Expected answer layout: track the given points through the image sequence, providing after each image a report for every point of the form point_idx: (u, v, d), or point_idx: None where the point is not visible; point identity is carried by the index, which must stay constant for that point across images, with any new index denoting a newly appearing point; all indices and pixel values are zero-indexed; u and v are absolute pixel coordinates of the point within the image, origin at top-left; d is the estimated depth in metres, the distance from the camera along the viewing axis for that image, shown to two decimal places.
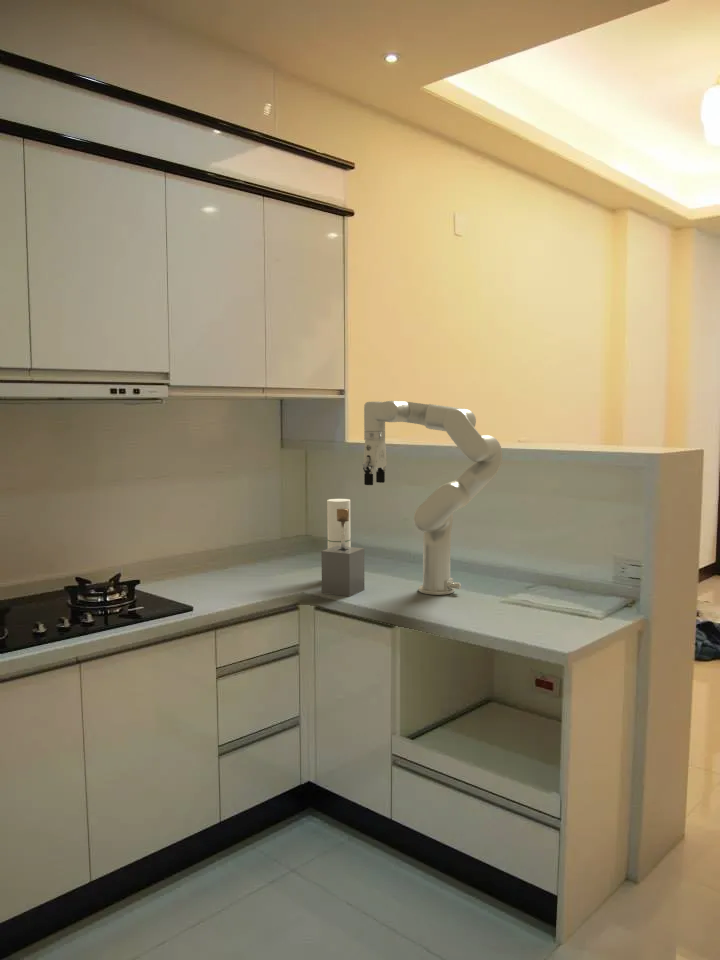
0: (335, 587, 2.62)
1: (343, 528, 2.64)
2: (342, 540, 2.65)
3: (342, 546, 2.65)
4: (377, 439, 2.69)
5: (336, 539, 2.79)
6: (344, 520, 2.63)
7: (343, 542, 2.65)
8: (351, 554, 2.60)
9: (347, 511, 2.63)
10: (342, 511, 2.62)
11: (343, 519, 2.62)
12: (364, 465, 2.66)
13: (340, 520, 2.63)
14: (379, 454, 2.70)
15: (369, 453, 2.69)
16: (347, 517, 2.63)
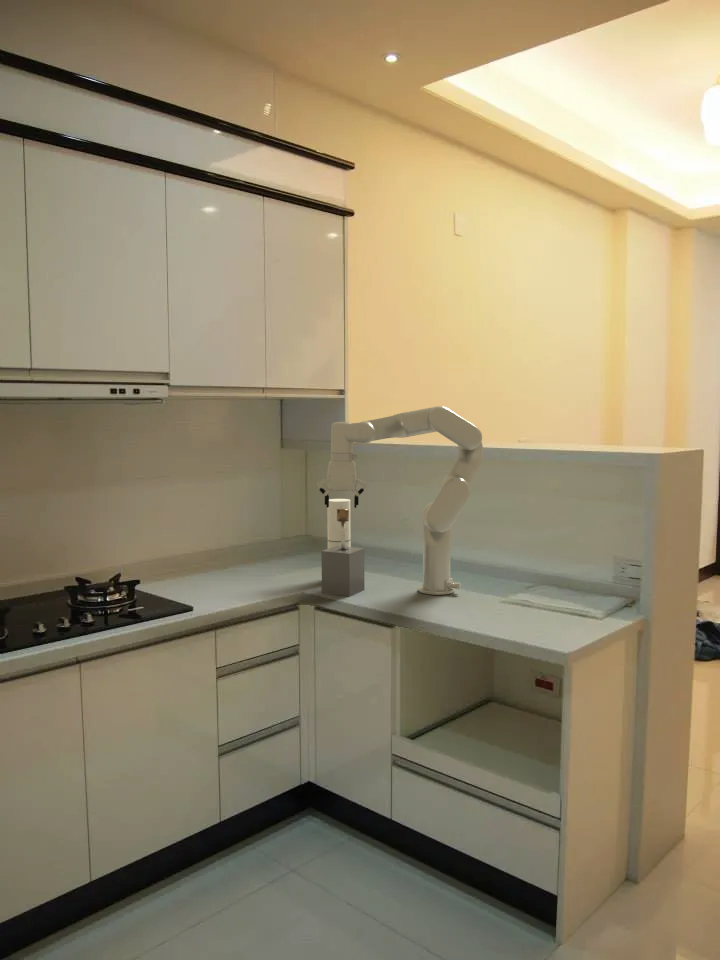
0: (335, 587, 2.62)
1: (343, 528, 2.64)
2: (342, 540, 2.65)
3: (342, 546, 2.65)
4: None
5: (336, 539, 2.79)
6: (344, 520, 2.63)
7: (343, 542, 2.65)
8: (351, 554, 2.60)
9: (347, 511, 2.63)
10: (342, 511, 2.62)
11: (343, 519, 2.62)
12: (365, 486, 2.63)
13: (340, 520, 2.63)
14: None
15: None
16: (347, 517, 2.63)
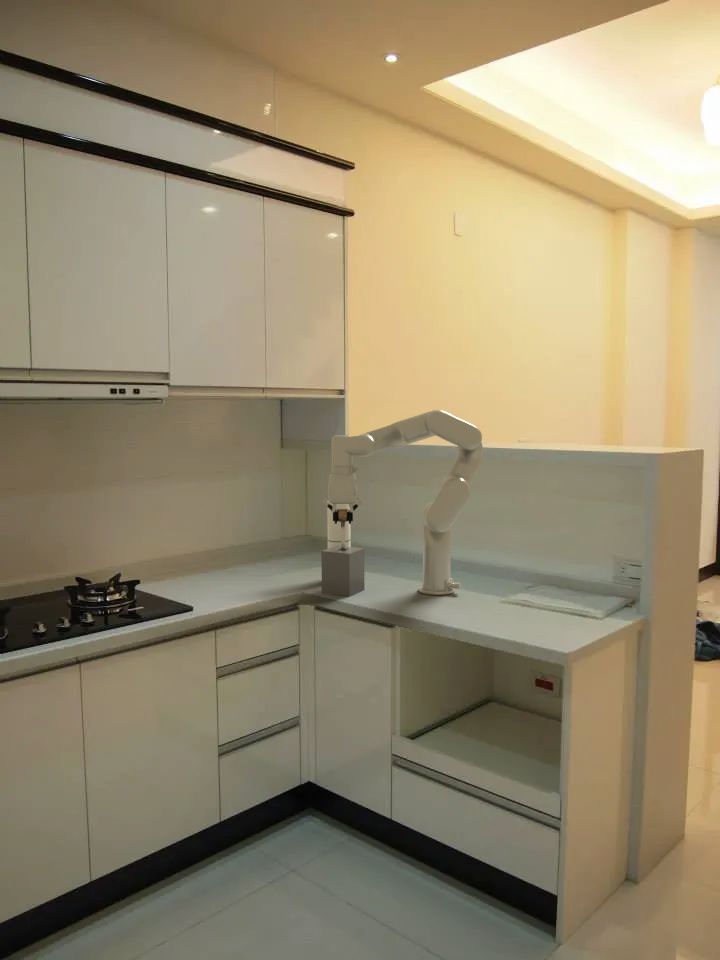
0: (335, 587, 2.62)
1: (343, 528, 2.64)
2: (342, 540, 2.65)
3: (342, 546, 2.65)
4: None
5: (336, 539, 2.79)
6: (344, 520, 2.63)
7: (343, 542, 2.65)
8: (351, 554, 2.60)
9: (347, 511, 2.63)
10: (342, 511, 2.62)
11: (343, 519, 2.62)
12: (360, 504, 2.64)
13: (340, 520, 2.63)
14: None
15: None
16: (347, 517, 2.63)
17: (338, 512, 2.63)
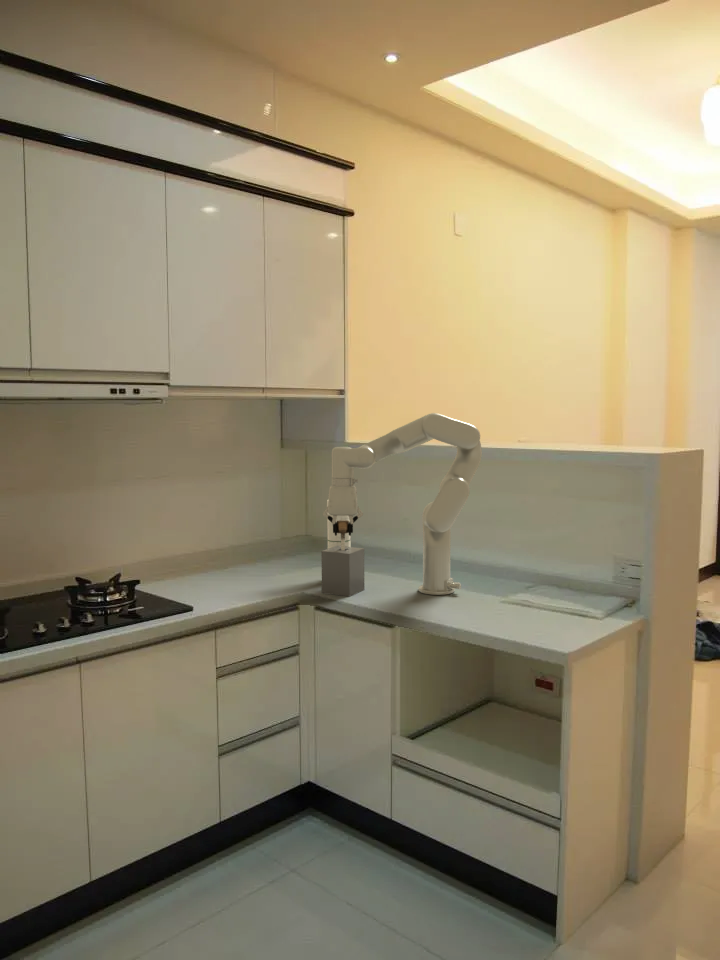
0: (335, 587, 2.62)
1: (343, 540, 2.65)
2: None
3: None
4: None
5: (336, 539, 2.79)
6: (344, 532, 2.63)
7: None
8: (351, 554, 2.60)
9: (347, 523, 2.63)
10: (342, 523, 2.63)
11: (343, 531, 2.63)
12: (360, 516, 2.64)
13: (340, 532, 2.63)
14: None
15: None
16: (347, 529, 2.64)
17: (338, 524, 2.63)
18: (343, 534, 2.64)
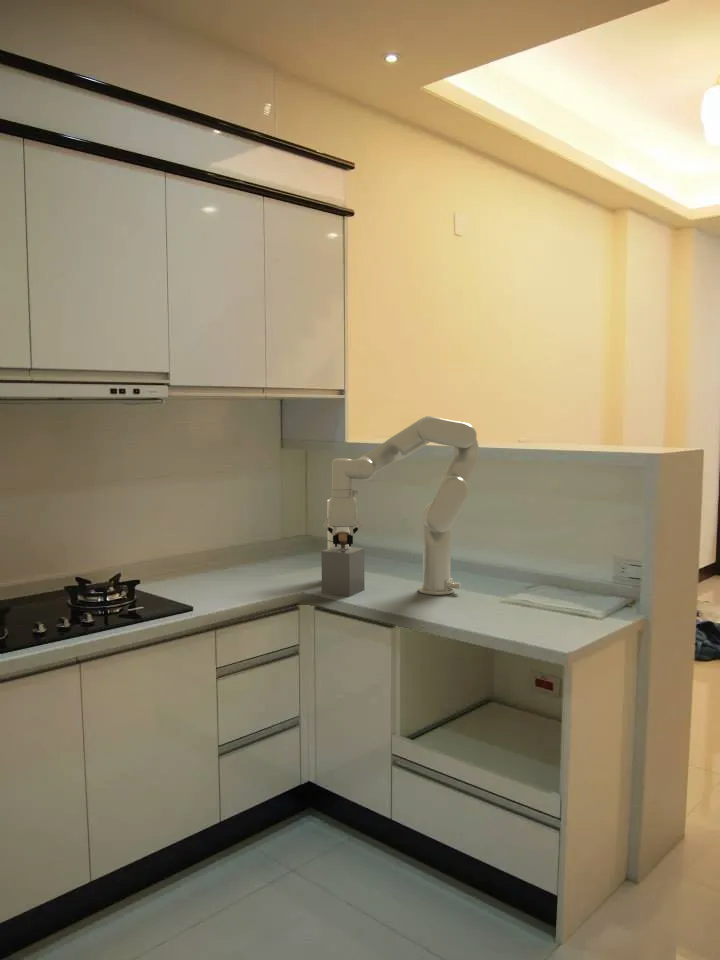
0: (335, 587, 2.62)
1: None
2: None
3: None
4: None
5: None
6: (344, 543, 2.63)
7: None
8: (351, 554, 2.60)
9: (347, 534, 2.64)
10: (342, 534, 2.63)
11: (343, 542, 2.63)
12: (360, 527, 2.65)
13: (340, 543, 2.63)
14: None
15: None
16: (347, 540, 2.64)
17: (338, 535, 2.64)
18: (343, 545, 2.65)
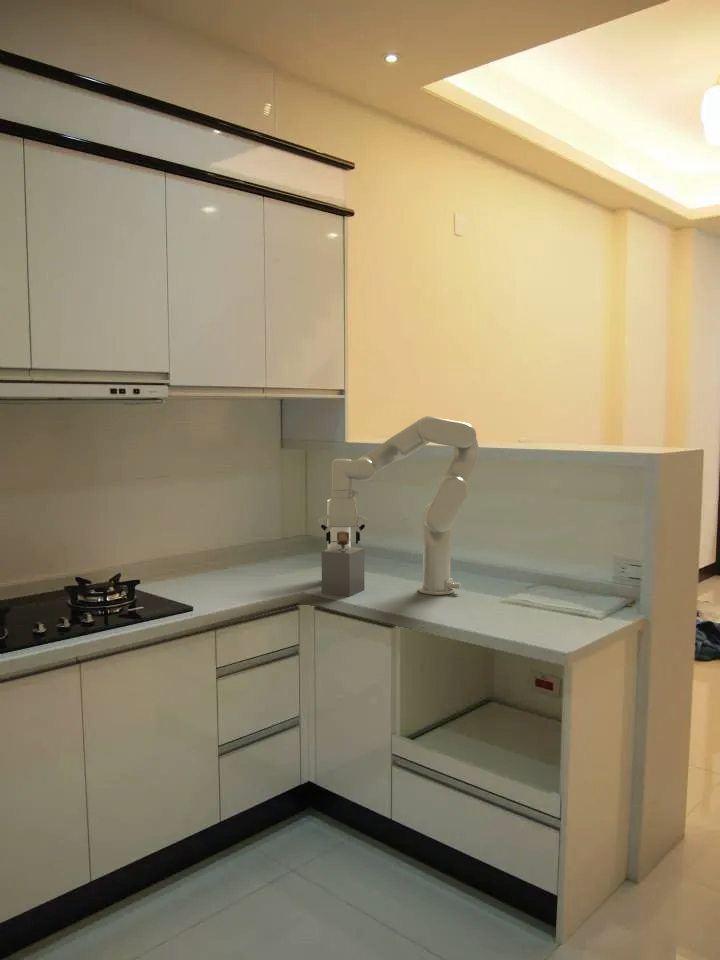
0: (335, 587, 2.62)
1: None
2: None
3: None
4: None
5: (336, 539, 2.79)
6: (344, 543, 2.63)
7: None
8: (351, 554, 2.60)
9: (347, 534, 2.64)
10: (342, 534, 2.63)
11: (343, 542, 2.63)
12: (366, 522, 2.65)
13: (340, 543, 2.63)
14: None
15: None
16: (347, 540, 2.64)
17: (338, 535, 2.64)
18: (343, 545, 2.65)
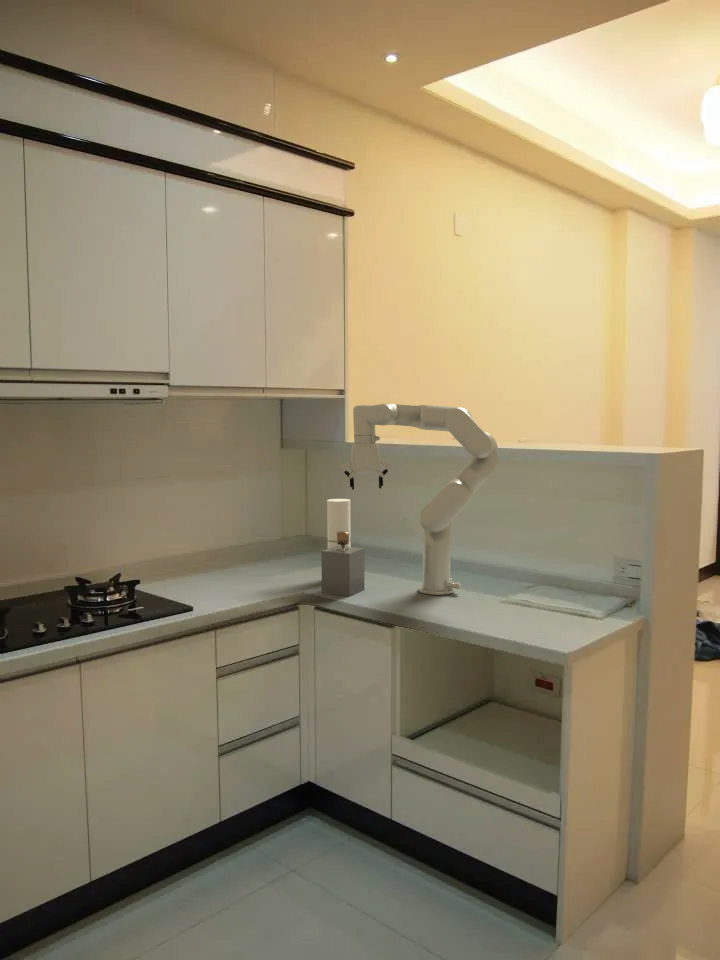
0: (335, 587, 2.62)
1: None
2: None
3: None
4: None
5: (336, 539, 2.79)
6: (344, 543, 2.63)
7: None
8: (351, 554, 2.60)
9: (347, 534, 2.64)
10: (342, 534, 2.63)
11: (343, 542, 2.63)
12: (389, 467, 2.69)
13: (340, 543, 2.63)
14: None
15: (379, 456, 2.69)
16: (347, 540, 2.64)
17: (338, 535, 2.64)
18: (343, 545, 2.65)
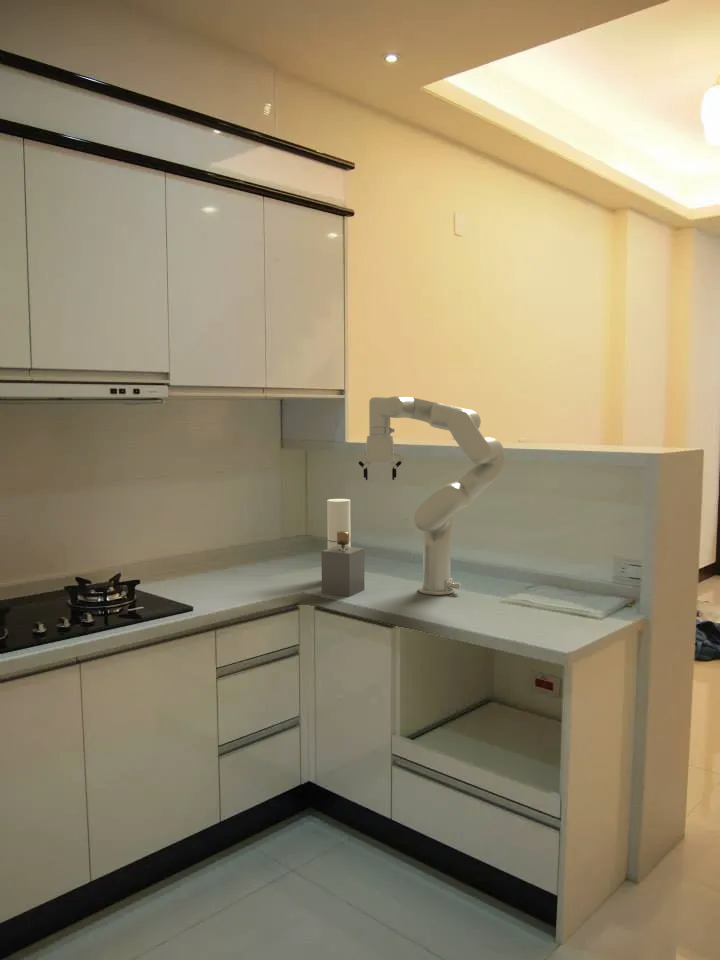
0: (335, 587, 2.62)
1: None
2: None
3: None
4: None
5: (336, 539, 2.79)
6: (344, 543, 2.63)
7: None
8: (351, 554, 2.60)
9: (347, 534, 2.64)
10: (342, 534, 2.63)
11: (343, 542, 2.63)
12: None
13: (340, 543, 2.63)
14: None
15: None
16: (347, 540, 2.64)
17: (338, 535, 2.64)
18: (343, 545, 2.65)
